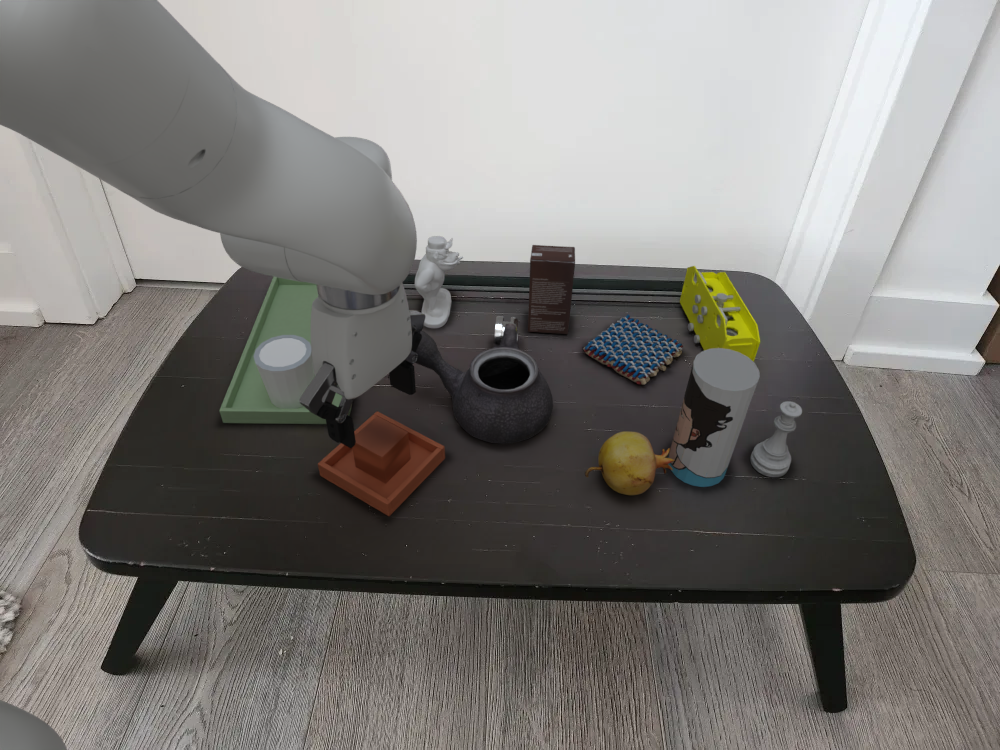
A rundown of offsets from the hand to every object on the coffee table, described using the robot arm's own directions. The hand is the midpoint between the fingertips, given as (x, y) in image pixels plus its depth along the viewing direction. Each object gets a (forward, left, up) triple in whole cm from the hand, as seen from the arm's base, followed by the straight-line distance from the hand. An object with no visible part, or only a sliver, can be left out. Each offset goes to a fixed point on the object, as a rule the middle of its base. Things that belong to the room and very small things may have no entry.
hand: (373, 414), depth 77 cm
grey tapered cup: (+3, +17, -9) cm, 19 cm away
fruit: (+15, -24, -9) cm, 29 cm away
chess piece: (+27, -37, -9) cm, 46 cm away
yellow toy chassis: (+45, -23, -9) cm, 51 cm away
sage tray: (+11, +23, -9) cm, 27 cm away
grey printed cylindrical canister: (+22, -30, -9) cm, 38 cm away
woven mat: (+36, -15, -9) cm, 40 cm away
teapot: (+16, -3, -9) cm, 18 cm away
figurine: (+29, +13, -9) cm, 33 cm away
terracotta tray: (+1, 0, -9) cm, 9 cm away
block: (+1, 0, -9) cm, 9 cm away
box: (+35, -2, -9) cm, 36 cm away
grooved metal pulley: (+27, 0, -9) cm, 28 cm away
